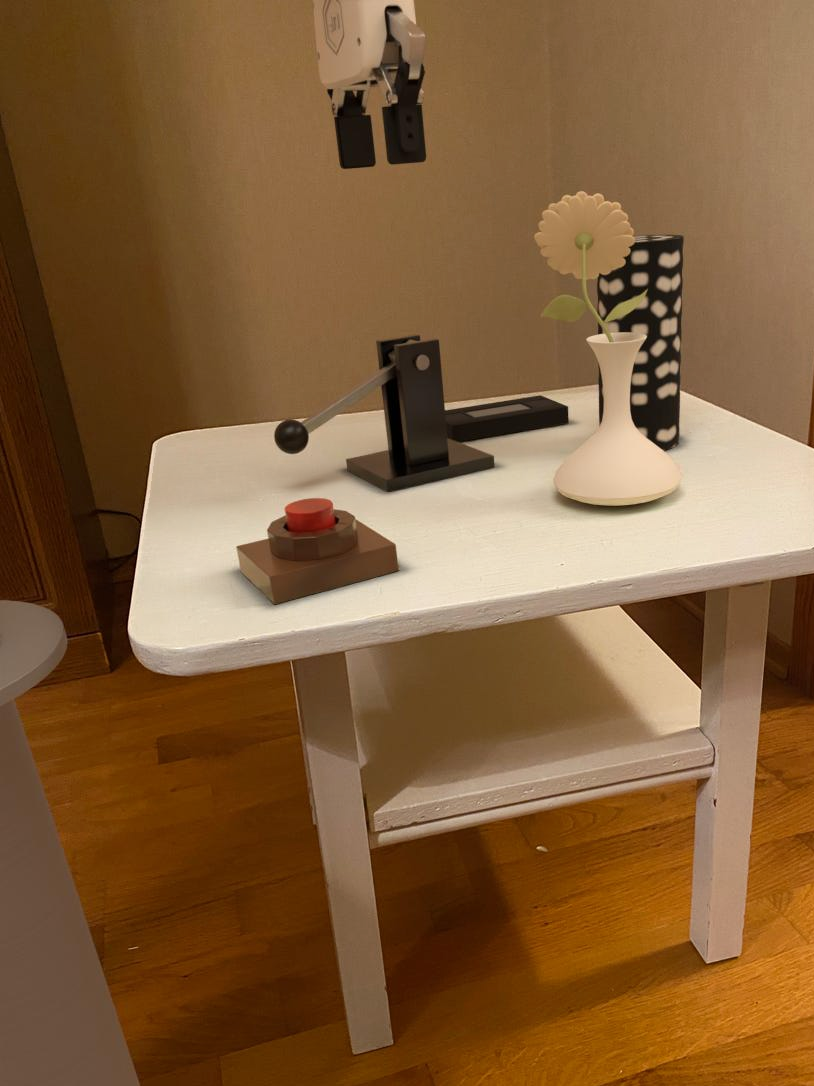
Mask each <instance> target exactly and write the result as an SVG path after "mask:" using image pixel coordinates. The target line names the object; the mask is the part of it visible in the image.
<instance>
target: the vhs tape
mask: <svg viewBox="0 0 814 1086" xmlns="http://www.w3.org/2000/svg"><path fill="white" fill-rule="evenodd" d="M445 417H446V429H447V438H449V439H452V440H454V441H457V442H459V443H461V442H466V441H471V440H477V439H483V438H488V437H489V438H490V437H494V436H500V435H501V436H502V435H505V434H512V433H518V432H519V433H520V432H524V431H529V430H535V429H541V428H547V427H552V426H553V427H554V426H559V425H565V424H569V423H570V422H569V406H568V405H566V404H564V403H561V402H559V401H556V400H553V399H551V398H549V397H546V396H543V395H539V394H538V395H532V396H527V397H520V398H514V399H508V400H501V401H495V402H488V403H481V404H476V405H471V406H464V407H457V408H451V409H445Z"/></svg>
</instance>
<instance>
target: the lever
mask: <svg viewBox="0 0 814 1086" xmlns="http://www.w3.org/2000/svg"><path fill="white" fill-rule="evenodd" d="M409 342H416V341H414V340H409V341H407V342H406V343H409ZM388 356H389V358H390V360H391V363H390V364H388V365H387V366H385V367H384V368H382V369H381V370H378V371H376V372H375V373H373V374H372V375H370V376H369V377H367V378H366V379H364V380H362V381H361V382H359V383H358V384H356V385H355V386H353V387H352V388H350V389H349V390H348V391H346V392H345V393H343V394H341V395H340V396H338V397H337V398H335V399H334V400H333V401H330V402H329V403H328V404H327V405H325V406H323V407H322V408H320V409H318V410H317V411H315V412H314V413H313V414H311V415H309V416H308V417H307V418H305V419H304V420H302V421H299V420H296V419H284V420H283V421H281V422H279V424H278V425H276V427H275V429H274V433H273V438H274V439H273V440H274V443H275V446H276V447H277V448H278V449H279V450H280V451H281V452H283V453H285V454H288V455H296V454H297V455H298V454H300V453H302V452H303V451H304V450H305V449H306V448H307V446H308V445H309V444H308V443H309V440H310V436H309V434H311V433H312V432H314V431H316V430H317V429H319V428H320V427H322V426H323V425H325V424H326V423H327V422H329V421H330V420H332V419H334V418H335V417H336V416H338V415H339V414H341V413H342V412H344V411H345V410H347V409H349V408H350V407H352V406H353V405H354V404H356V403H358V402H359V401H361V400H362V399H363V398H365V397H366V396H368V395H370V394H371V393H372V392H374V391H375V390H378V389H379V388H380V387H381V385H383V384H384V383H386V382H387V381H389V380H390V379H392V378H394V377H395V376H397V372H396V362H395V353H394V350H393V351H392V352H390V353H389V354H388Z"/></svg>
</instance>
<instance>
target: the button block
mask: <svg viewBox="0 0 814 1086" xmlns="http://www.w3.org/2000/svg"><path fill="white" fill-rule="evenodd" d="M333 509H334V516H335V523H336V525H334V526H332V527H330V528H328V529H324V530H320V531H316V532H304V533H297V532H290V531H288V526H287V520H286V514H284V515H283V516H281V517H279V518H277V519H275V520H272V522H270V524H269V526H268V527H267V529H266V532H267V537H268V538H264V539H261V540H260V539H259V540H256V541H252V542H249V543H245V544H240V545H236V547H235V548H236V552H237V559H238V563H239V568H240V569H239V570H240V572H241V574H243V575H244V576H245V577H246V578H247V579H248V580H249V581H250V582H251V583H252V584H253V585H254V587H256V588H257V589H258V590H259V591H260V592H261V593H262V594H263V595H264V596H265V597H266V598H267V599H268V600H269V601H270V602H271V603H272V604H273V605H279V604H283V603H285V602H289V601H294V600H296V599H297V600H298V599H300V598H303V597H304V598H305V597H308V596H312V595H315V594H319V593H322V592H326V591H329V590H334V589H337V588H340V587H344V586H349V585H351V584H355V583H359V582H363V581H366V580H370V579H373V578H377V577H381V576H384V575H388V574H391V573H395V572H399V562H398V554H397V553H398V551H397V545H396V543H395V542H393V541H392V540H389V539H388V538H386V537H385V536H383V535H382V534H380V533H378V532H377V531H376V530H374V529H373V528H371V527H369V526H367V524H365V523H363V522H361V521H359V520H358V519H357V518H356V516H355V515H353V514H352V513H350V512H349V511H347V510H342V509H335V508H333Z"/></svg>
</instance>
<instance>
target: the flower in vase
mask: <svg viewBox="0 0 814 1086" xmlns="http://www.w3.org/2000/svg"><path fill="white" fill-rule="evenodd" d="M541 217H542V219H543V220H541V221H540V222H538V224H537V225H538V226H537V227H538V229H539V231H538V232H536V233H535V234H534V236H533V237H534V241H535V242H536V245H537V246H538V247H539V248H540V251H539V253H540V254H541V256H542V257H544V258H548V259H547V261H546V263H547V265H548V266H549V267H551V269H553V271H557V272H559V274H561V275H568V274H569V273H570V274H572V275H573V277H574V278H575V279H577V280H581V282H582V283H581V285H582V295H583V298H584V300H583V299H581V298H578V297H575V296H573V295H569V294H560V295H558V296H556V297H555V298H553V299H552V300H551V301H550V302H548V303H549V304H547V306H546V307H545V308H544V310H543V311H542V312H541V314H540V318H546V319H553V320H557V321H562V322H568V323H569V322H570V323H574V322H577V321H579V320H580V318H582V316H583V315H584V313H585V312H586V311H587V310H588V309H589V311H590V312H591V314H592V315H593V317H594V318H595V320H596V322H597V324H598V323H599V324H600V325H601V327H602V329H603V330H604V332H605V334H599V335H598V334H594V335H591V336H588V337H587V338H586V339H585V341H586V343H587V344H588V346H590V348H591V349H592V351H593V354H594V355H595V357H596V360H597V364H598V363H599V366H600V370H601V375H602V382H603V393H604V412H603V418H602V422H601V425H600V427H599V426H598V428H597V430H596V431H595V432H594V433H593V434H592V436H590V437H589V438H588V439H587V440H586V441H585V442H584V443H583V444H581V445H580V446H579V447H577V449H575V450H574V451H573V452H572V453H571V454H570V455H569V456H568V457H566V459H564V460H563V462H562V463H561V464H560V465H559V466H558V468H557V469H556V471H555V474H554V477H553V478H552V479H553V480H552V483H553V485H554V487H555V488H556V489H557V491H558V492H559V493H560V494H561V495H563V496H564V497H566V498H568V499H572V500H574V501H576V502H577V501H578V502H581V503H585V504H589V505H595V506H630V505H637V504H645V503H648V502H651V501H652V502H653V501H655V500H657V499H659V498H663V497H665V496H668V495H670V494H671V493H673V492H674V491H676V490H677V488H678V487H679V486H680V484H681V483H682V481H683V480H684V479H683V478H684V477H683V473H682V471H681V468H680V465H679V464H678V462H676V461H675V460H674V458H673V457H671V456H670V455H669V454H668V453H667V452H666V451H665V450H664V451H663V450H662V449H660V448H659V447H658V446H657V445H655V444H654V443H653V442H651V441H650V440H649V439H647V438H646V437H645V436H644V435H643V434H641V433H640V432H639V431H638V429H637V428H636V427H635V426H634V423H633V421H632V418H631V413H630V384H631V375H632V370H633V365H634V361H635V358H636V355H637V353H638V351H639V349H640V347H641V345H642V344H643V342H644V341H645V340H646V338H647V336H646V335H645V334H641V333H632V332H619V333H610V332H609V330H608V329H607V327H606V325H605V324H604V322H609V321H612V320H614V319H618V318H620V317H623V316H625V315H626V314H628V313H630V312H631V311H632V310H634V309H635V308H636V307H637V306H638V305H639V304H640V303H641V301H642V300H643V298H644V297H645V295H646V292H647V290H648V289H647V290H646V291H645V292H643V293H642V294H641V295H639V296H637V297H635V298H633V299H630V300H628V301H625V302H623V303H621V304H619V305H618V306H616V307H615V308H614V309H613V310H612V311H611V312H610V314H609V315H608V316H607V318H606V319H605V321H604V322H603V321H602V319H601V318H600V317H599V315H598V314H597V310H596V308H595V307H594V306H593V305H592V303H591V300H590V298H589V295H588V291H587V280H597V277H598V276H599V273H601V274H603V275H607V274H609V273H610V272H611V270H615V269H617V268H620V267H622V266H624V265H625V263H626V261H625V259H624V258H623V257H625V256H628V255H629V254H630V248H629V247H630V246H632V245H633V244H634V243H635V238H634V237H633V236H634V233H635V231H634V228H632V227H631V223H630V222H629V215H628V213H626V212H624V211H623V210H622V204H621V203H619V202H617V201H614V202H611V201H609V200H606V201H605V197H604V195H603V194H601V193H595V194H594V195H588V194H587V192H585V191H582V190H580V191H578V192H576V194H575V195H572V196H571V195H570V194H564V195H563V196H562V197H561V199H560V200H559V201H558V202H556V203H553V202H552V203H550V204H549V205H548V207H547V209H545V210H543V211H542V213H541Z"/></svg>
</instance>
